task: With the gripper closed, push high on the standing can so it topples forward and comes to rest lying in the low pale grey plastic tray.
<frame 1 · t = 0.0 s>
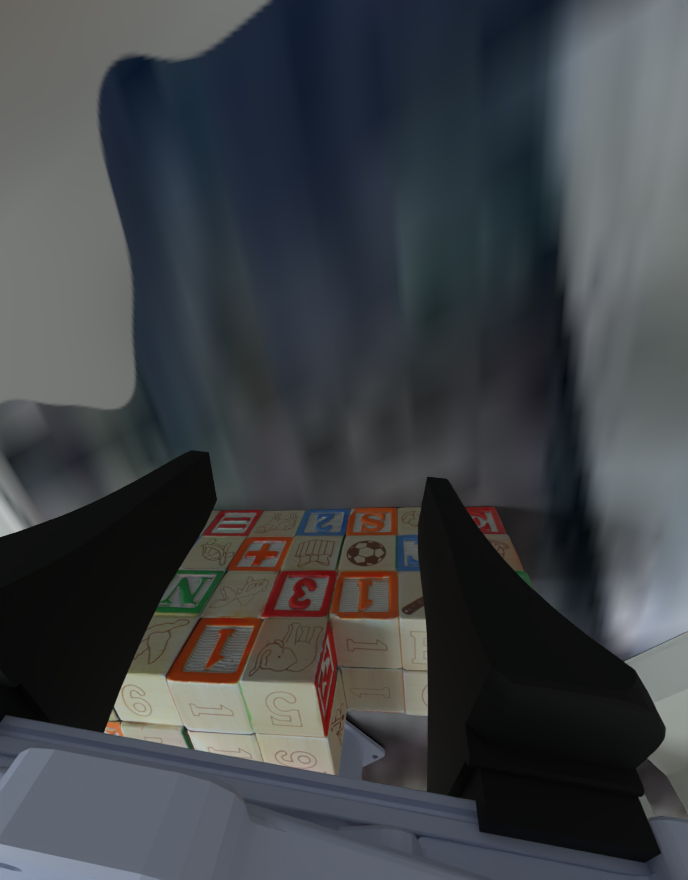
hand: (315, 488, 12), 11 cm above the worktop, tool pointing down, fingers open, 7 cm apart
stack of blocks: (333, 543, 27), on the worktop
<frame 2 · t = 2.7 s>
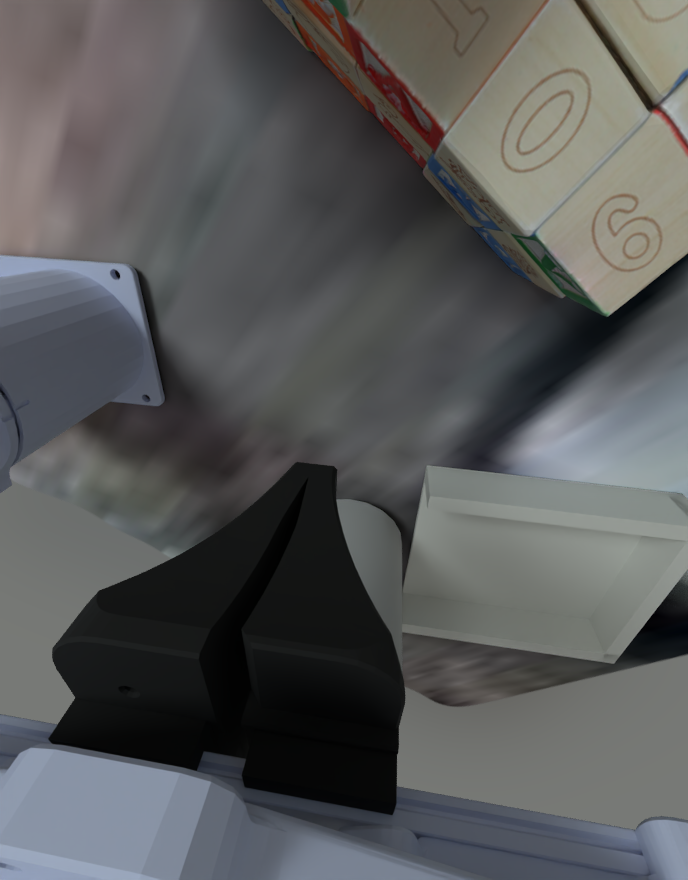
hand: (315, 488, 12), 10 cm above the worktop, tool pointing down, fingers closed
tray: (520, 553, 27), on the worktop
can: (350, 528, 28), on the worktop
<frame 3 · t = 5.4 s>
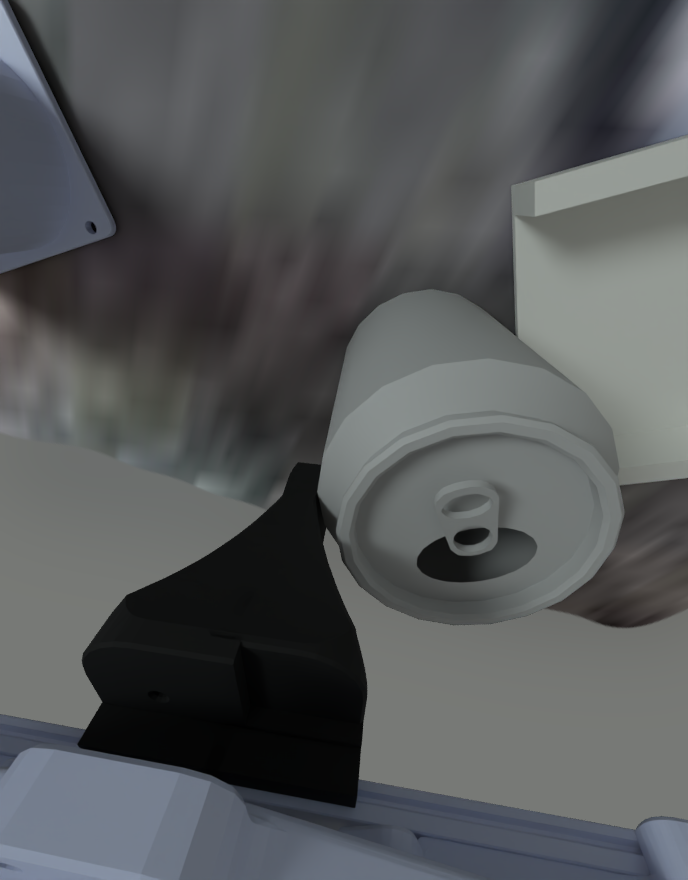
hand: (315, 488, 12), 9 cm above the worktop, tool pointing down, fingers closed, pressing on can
can: (419, 365, 19), on the worktop, touching gripper
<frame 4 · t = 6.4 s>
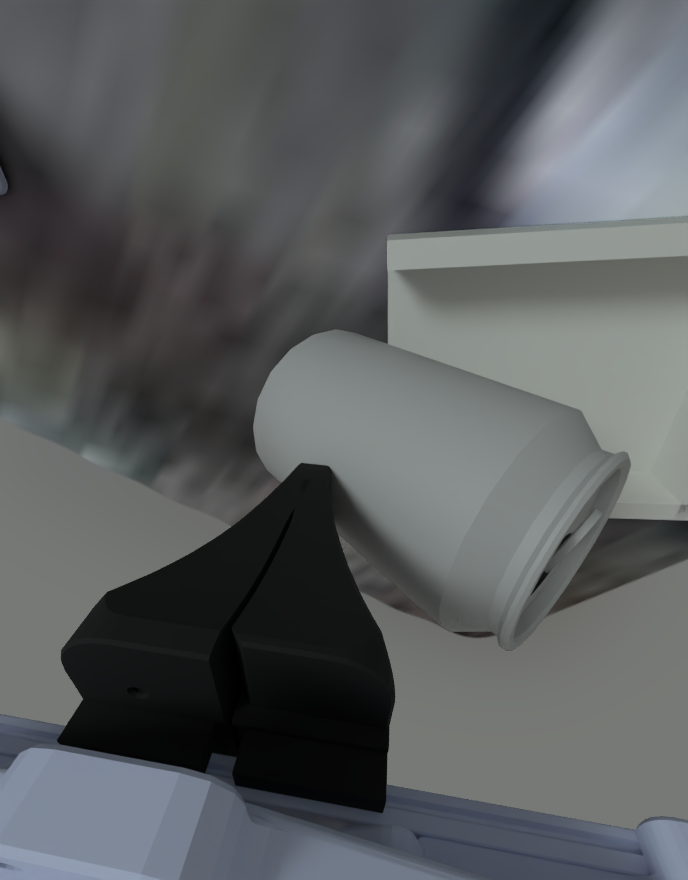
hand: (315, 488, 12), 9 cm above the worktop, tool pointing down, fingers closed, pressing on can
tray: (541, 375, 19), on the worktop
can: (312, 404, 18), point 2 cm above the worktop, touching gripper
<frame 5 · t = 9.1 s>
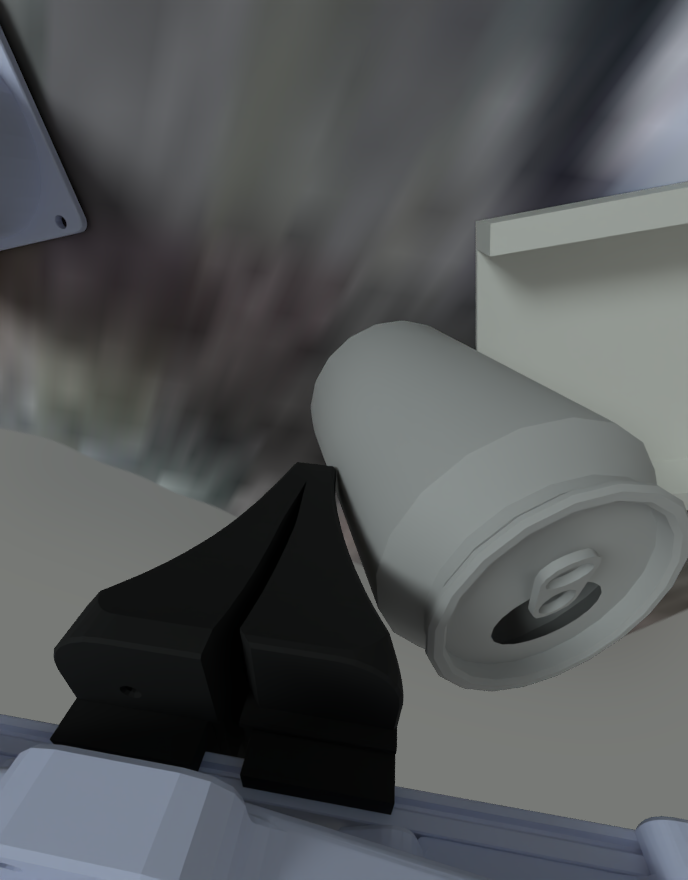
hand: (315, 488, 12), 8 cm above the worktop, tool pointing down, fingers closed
tray: (652, 354, 17), on the worktop
can: (383, 395, 18), point 1 cm above the worktop, touching gripper
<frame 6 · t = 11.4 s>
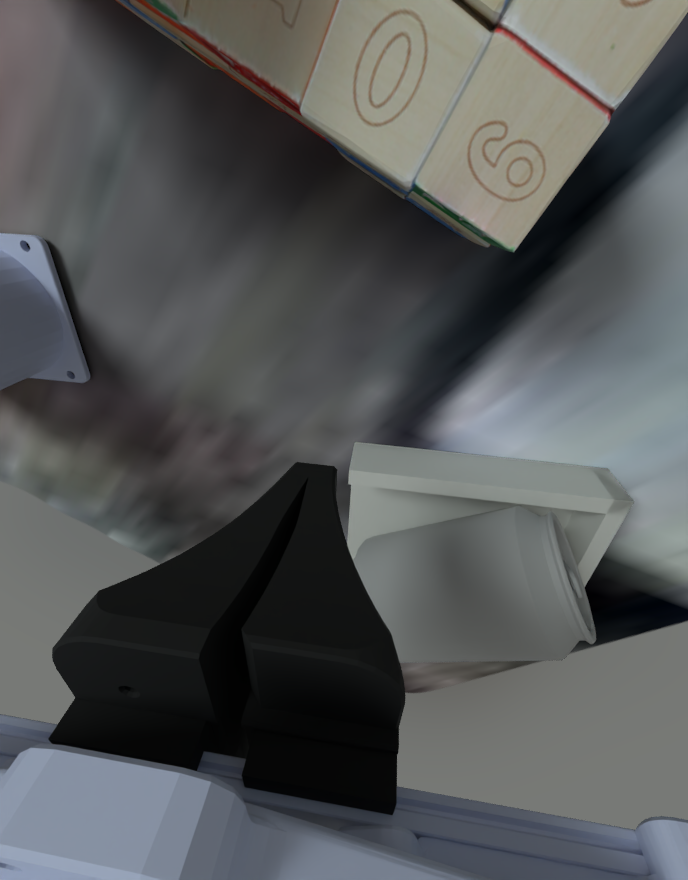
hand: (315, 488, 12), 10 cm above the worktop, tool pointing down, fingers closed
tray: (456, 532, 26), on the worktop
can: (370, 597, 25), point 4 cm above the worktop, touching tray
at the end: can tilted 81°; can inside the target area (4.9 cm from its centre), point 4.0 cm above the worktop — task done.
